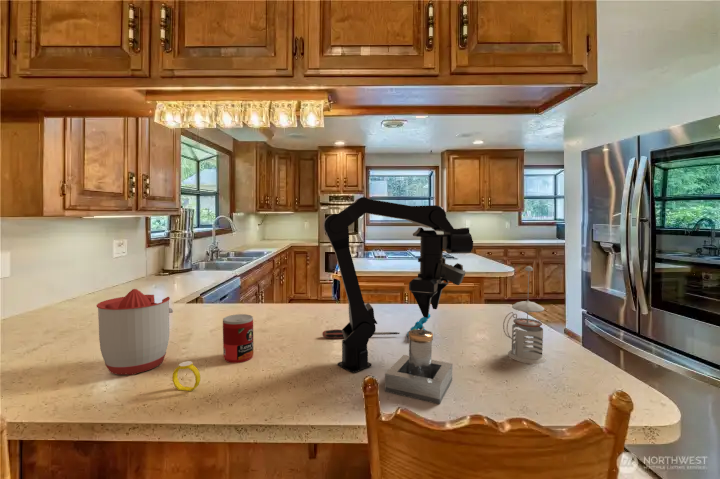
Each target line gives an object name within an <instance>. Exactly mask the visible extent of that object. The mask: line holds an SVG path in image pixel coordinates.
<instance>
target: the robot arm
mask: <svg viewBox="0 0 720 479" xmlns="http://www.w3.org/2000/svg"><path fill="white" fill-rule="evenodd" d="M365 214H367V215H373V216H378V217H379V216H380V217H386V218H391V219H392V218H393V219H399V220H405V221H408V222H410V223H412V224H415V225H417V226H421V227H417V229H416V230H415V232H413V233H412V236H413V237H416V238H418V237H419V238H420V249H419V252H420V257H418V258H417V262H418V263H419V270H420V271H419V273H417V277H415V278H412V279H411V280H410V281H409V283H408V290H409V291H410V292H411V294H412V295H413V297H414V299H415V301H416V303H417V306H418V307H419V309H420V310H419V311H420V312H421V314H422V317H426V318H427V317H428V315H429V314H430V308H431V307H432V309H433V310H437V309H438V306H439V303H440V300H441V296H442V292H443V290H444V289H445V288H446V287H447V286H448V285H450V284H449V282H451V283H452V284H453V285H455V286H456V285H457V286H460V284H462V282H463V280H464V277H465V276H466V272H467V271H466V270H464V268H463V267H464V265H463V264H462V263H458V262H457V263H455V264H454V265H453V264H447V263H446V258H445V257H443V255H444V253H443V252H444V251H443V250H445V252H446V253H447V254H448V255H450V254H451V255H455V254H456V255H457V254H464V255H465V254H470V253H472V251H473V248H474V240H473V237H472V234H471V233H470V228H469V227H459V228H454V227H453V225H452V223H451V222H450V221H449V219H448V218H447V213H446V211H445V209H444V208H443V206H440V205H434V204H433V205H408V204H402V203H396V202H390V201H384V200H378V199H371V198H368V197H366V196H365V197H364V196H362V197H359V198H357V199H356V200H355V201H354V202H353V203H351V204H350V205H348V206H347V207H346V208H344V209H343V210H342V211H340V212H339V213H333V214H330V215H328V216H326V217H325V218H324V220H323V223H322V226H323V231H324V233H325V235H326V237H327V238H328V241H329V244H330V245H331V247H332V249H333V251H334V253H335V258H336V261H337V265H338V269H339V272H340V275H341V280H342V284H343V286H344V291H345V295H346V298H347V301H348V302H347V303H348V318H349V319H348V320H349V322H348V323H346V325H345V326H344V327H343V328H342V329H341V330H342V334H343V337H344V338H343V340H341V351H342V352H341V357H342V358H341V360H342V361H339V362H337V366H339V367H340V368H343V369H345V370H347V371H349V372H350V373H356V372H359V371H362V370H364V369H367V368H370V367H372V363H371V362H369V361H368V360H369V355H368V354H369V350H368V343H369V341H370V339H371V338H372V337H373V336H374V335H373V334H374V332H376V329H377V328H376V325H378V321H377V320H376V318H375V312H374V311H375V310H374V307H373V306H372V304H371V303H369V302H367V303H366V302H365V301H364V298H363V295H362V294H363V293H362V289H361V286H360V282H359V279H358V275H357V272H356V267H355V265H354V261H353V257H352V253H351V250H350V232H349V231H350V230H349V226H351V225H352V224H353V223H355V222H356V221H357V220H358V219H360V218H361V217H362V216H363V215H365ZM424 228H429V229H430V228H431V230H426V229H424ZM437 232H442V233H440V234H439V233H437Z"/></svg>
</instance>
